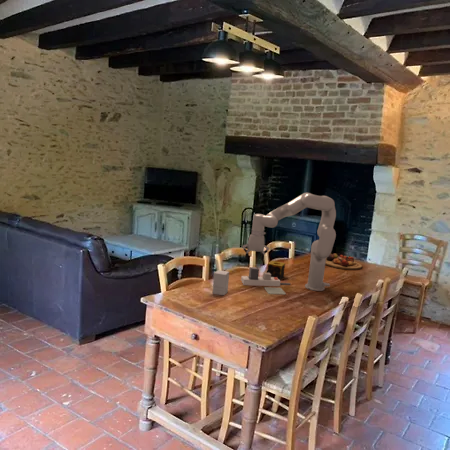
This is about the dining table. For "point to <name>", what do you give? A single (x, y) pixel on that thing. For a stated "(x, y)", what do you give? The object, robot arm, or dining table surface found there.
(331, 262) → the wooden plate with food
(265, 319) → the dining table surface
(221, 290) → the supplement box
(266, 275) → the small plug
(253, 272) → the block
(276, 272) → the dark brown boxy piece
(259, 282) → the power strip
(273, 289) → the felt pad
